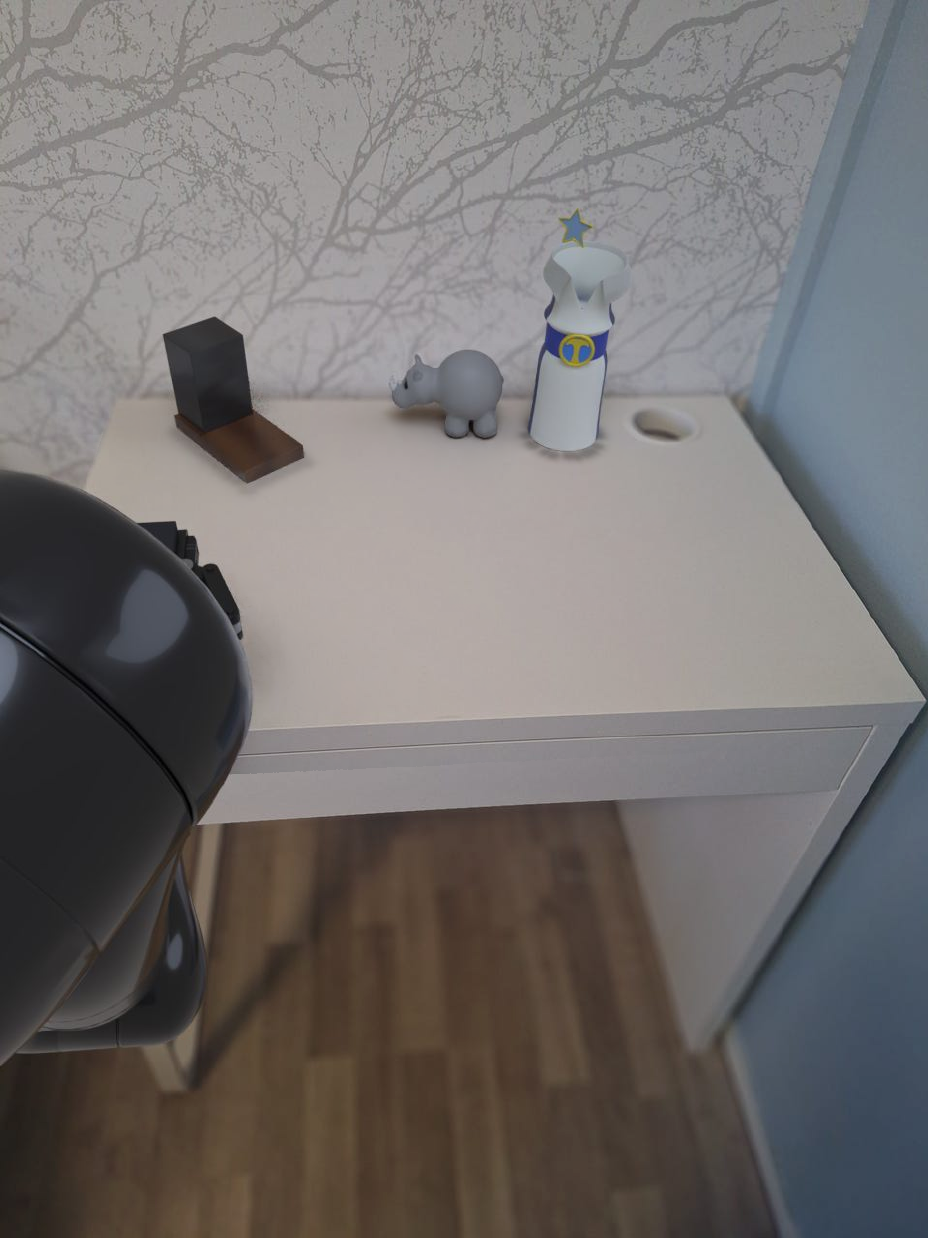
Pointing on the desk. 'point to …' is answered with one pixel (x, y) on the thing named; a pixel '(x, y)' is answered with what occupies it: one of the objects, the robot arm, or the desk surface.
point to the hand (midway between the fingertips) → (152, 540)
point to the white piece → (576, 338)
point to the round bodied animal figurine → (455, 391)
